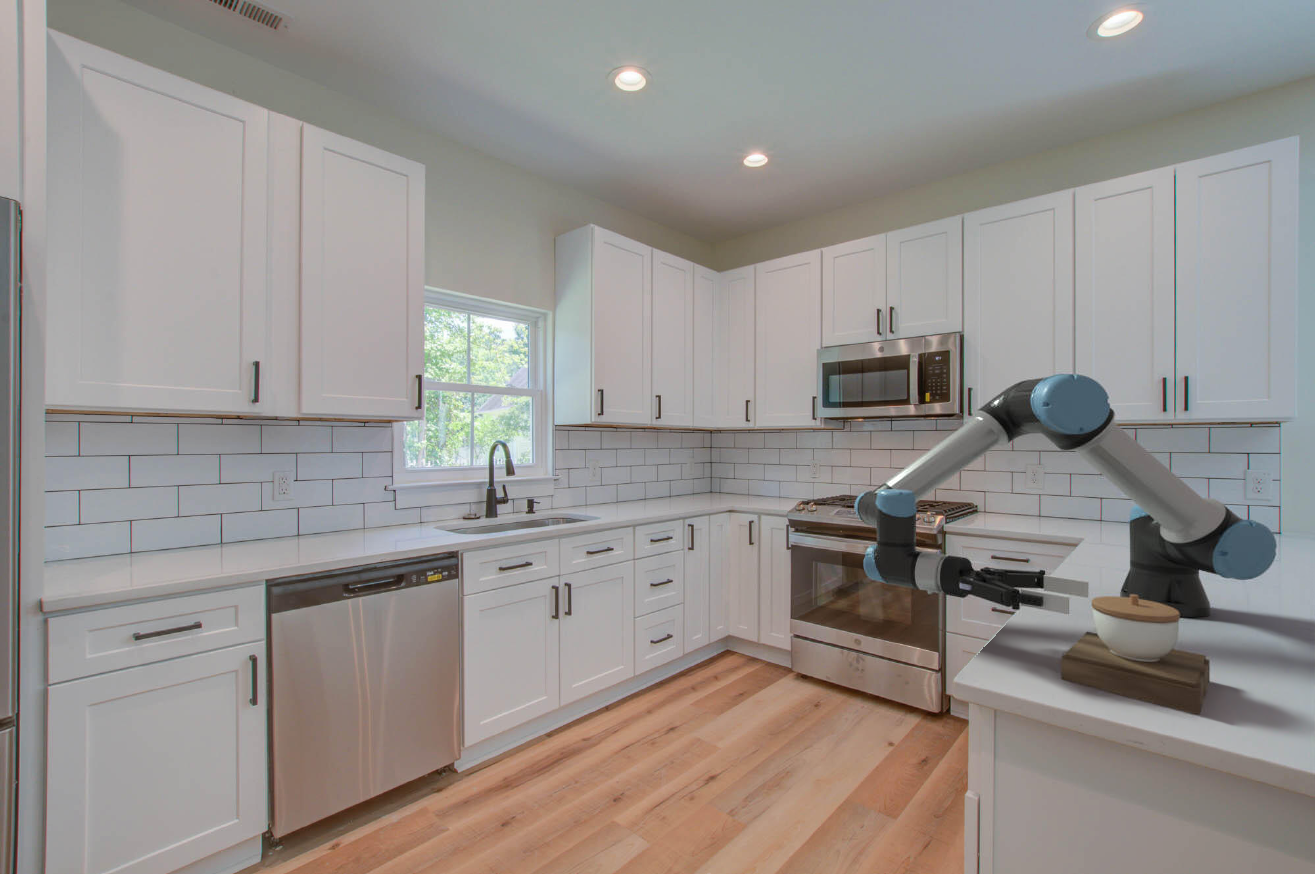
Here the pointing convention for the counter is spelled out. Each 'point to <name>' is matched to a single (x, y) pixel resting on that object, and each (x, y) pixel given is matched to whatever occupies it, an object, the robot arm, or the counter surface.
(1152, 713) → the counter surface
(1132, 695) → the walnut stand
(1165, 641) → the lidded jar
